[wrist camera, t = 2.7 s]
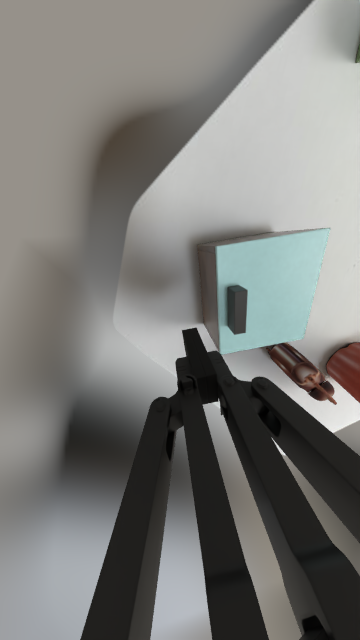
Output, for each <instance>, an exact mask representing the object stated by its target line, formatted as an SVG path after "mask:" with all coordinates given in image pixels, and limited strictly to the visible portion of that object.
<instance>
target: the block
mask: <svg viewBox="0 0 360 640" xmlns="http://www.w3.org/2000/svg"><path fill="white" fill-rule="evenodd" d="M357 62H360V45H359V49H358V54H357V59H356V63H357Z"/></svg>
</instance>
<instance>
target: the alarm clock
mask: <svg viewBox="0 0 360 640" xmlns="http://www.w3.org/2000/svg"><path fill="white" fill-rule="evenodd" d="M266 349H267V350H268V351H269V352H268V353H269V355H270V356H271V359H272V360H273V361H274V362H275V363H276V364H277V365H278V366H279V367H280V368H281V369H282V370H283V371H284V372H285V373H286V374H287V375H288V376H289V377H290V378H291V379H292V380H293V381H294V382H295V383H296V384H297V385H298V386H299V387H300V388H302V389H304V390H306V391H307V392H309V393H308V394H309V395H310V396H311V397H313V398H314V399H316V400H319V401H324V400H327V399H328V400H329V401H330V402H332V403H333V404H335V405H336V404H337V403H336V401H335V400H334V399H333V398H332V396H333V394H334V388H333V386H332V385H331V384H330V383H329V382H328V381H326V380H325V378H324V375H323V374H322V373H321V372H320V371H319V370H318V369H317V368H316V367H315V366H314V365H313V364H312V363H311V362H310V361H309V360H307V359H306V358H305V357H304V356H303V355H302V354H301V353H299V352H298V351H297V350H296V349H295V348H293V347H292V346H291V345H289V344H288V343H279V344H278V345H276V346H275V347H273V348H272V349H271V350H269V349H268V348H266ZM324 381H326V382H324ZM323 382H324V383H323ZM310 391H311V392H310Z"/></svg>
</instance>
